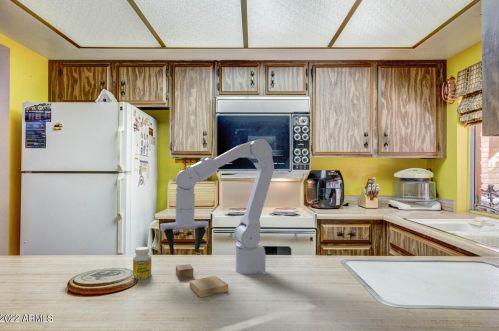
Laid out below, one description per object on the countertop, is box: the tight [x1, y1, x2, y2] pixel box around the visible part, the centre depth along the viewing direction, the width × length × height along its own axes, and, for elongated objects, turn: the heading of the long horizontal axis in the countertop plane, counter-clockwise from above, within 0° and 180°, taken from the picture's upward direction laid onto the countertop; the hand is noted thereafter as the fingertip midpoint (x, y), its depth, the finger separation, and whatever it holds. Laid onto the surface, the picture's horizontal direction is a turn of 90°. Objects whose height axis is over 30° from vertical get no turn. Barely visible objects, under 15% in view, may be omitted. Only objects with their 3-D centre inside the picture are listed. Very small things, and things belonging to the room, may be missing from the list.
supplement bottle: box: [132, 246, 152, 280], centre depth 95 cm, size 5×5×10 cm
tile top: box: [189, 275, 229, 298], centre depth 85 cm, size 8×8×2 cm
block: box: [175, 263, 194, 280], centre depth 95 cm, size 4×4×4 cm
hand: (184, 252), depth 96 cm, fingers open, 7 cm apart
